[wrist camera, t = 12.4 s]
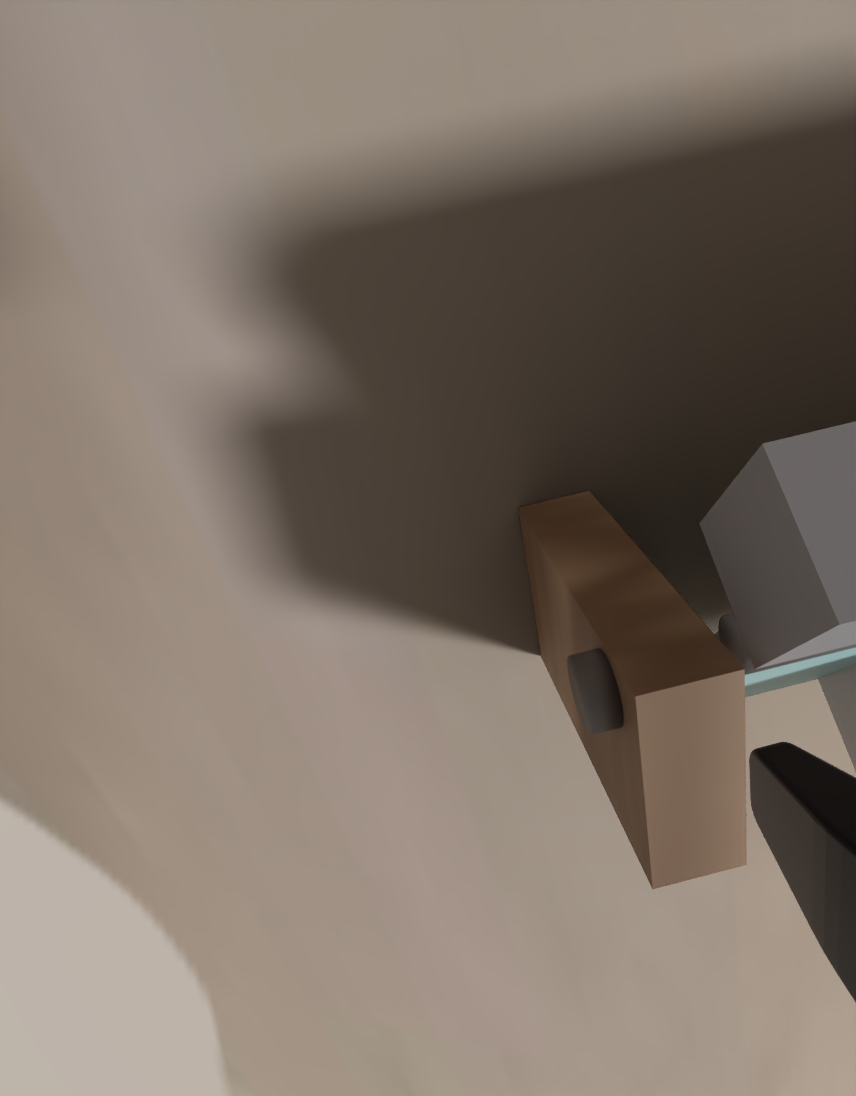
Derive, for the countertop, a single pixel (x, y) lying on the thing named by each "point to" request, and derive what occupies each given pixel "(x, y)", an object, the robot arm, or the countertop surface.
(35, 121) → the countertop surface
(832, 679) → the grey cube
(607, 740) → the trapdoor frame
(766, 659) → the trapdoor
